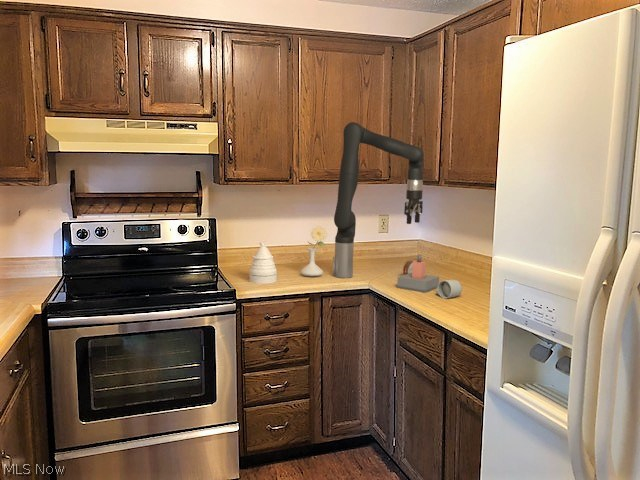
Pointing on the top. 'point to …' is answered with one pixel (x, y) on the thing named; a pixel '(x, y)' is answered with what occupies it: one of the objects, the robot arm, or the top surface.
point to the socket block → (418, 283)
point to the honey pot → (263, 267)
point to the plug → (419, 268)
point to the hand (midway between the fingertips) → (413, 223)
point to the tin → (408, 267)
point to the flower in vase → (312, 268)
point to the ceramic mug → (449, 288)
